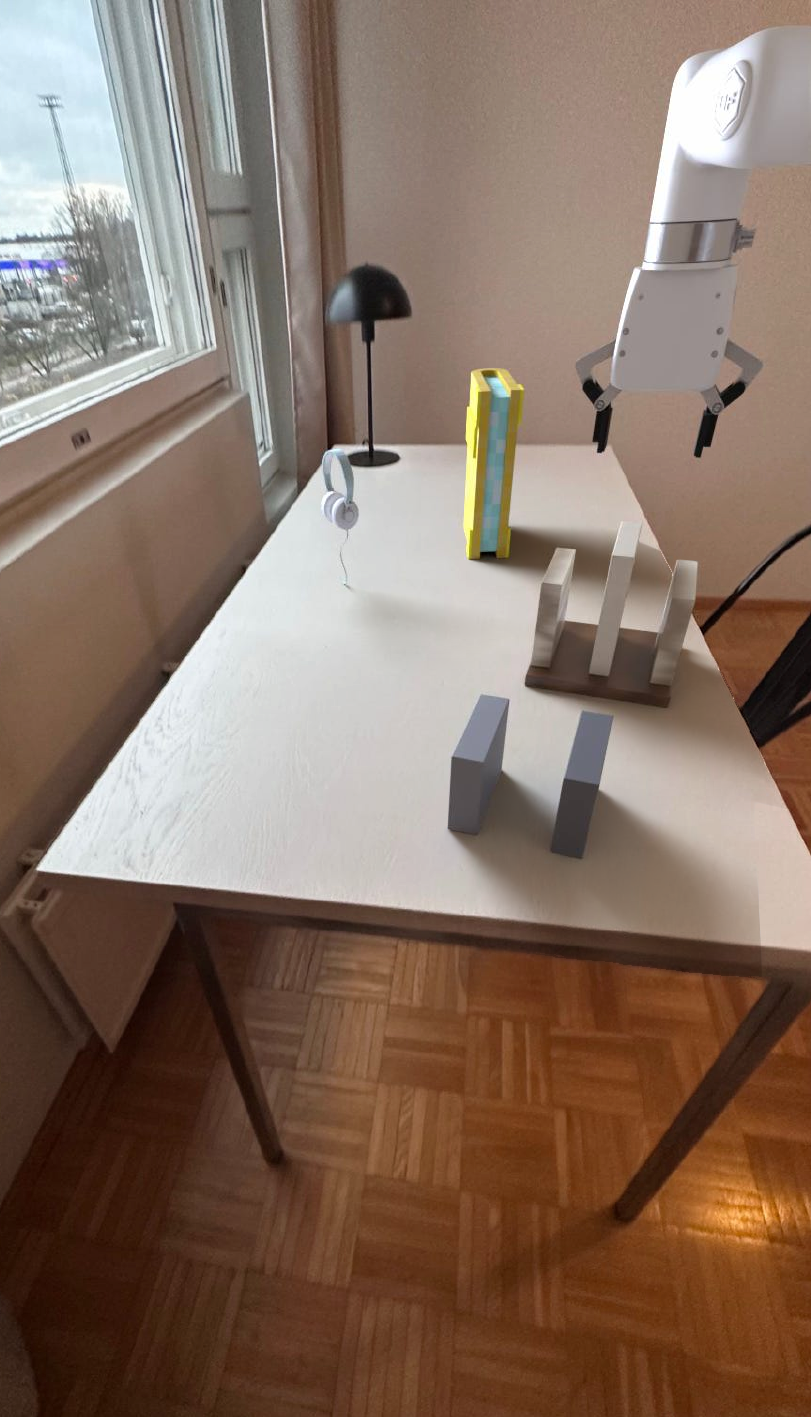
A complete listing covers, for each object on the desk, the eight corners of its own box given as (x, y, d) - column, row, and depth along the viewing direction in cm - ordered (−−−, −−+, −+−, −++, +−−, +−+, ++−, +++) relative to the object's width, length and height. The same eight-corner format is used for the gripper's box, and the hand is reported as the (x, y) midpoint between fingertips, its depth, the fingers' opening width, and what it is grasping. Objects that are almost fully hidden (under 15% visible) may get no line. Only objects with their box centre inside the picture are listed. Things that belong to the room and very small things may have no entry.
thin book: (618, 635, 95) (642, 522, 85) (608, 676, 87) (634, 557, 77) (599, 633, 95) (621, 520, 85) (588, 673, 88) (611, 555, 78)
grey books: (596, 787, 74) (613, 715, 68) (582, 859, 66) (599, 785, 60) (474, 763, 77) (480, 693, 72) (447, 828, 70) (451, 756, 64)
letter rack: (674, 644, 95) (699, 553, 87) (667, 707, 84) (695, 610, 76) (546, 628, 100) (559, 540, 92) (524, 685, 89) (536, 591, 81)
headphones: (366, 590, 112) (361, 454, 99) (344, 596, 111) (336, 459, 98) (343, 572, 118) (336, 441, 105) (322, 577, 116) (311, 446, 103)
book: (508, 557, 119) (524, 389, 103) (468, 559, 120) (477, 391, 103) (495, 521, 132) (508, 367, 116) (459, 523, 132) (467, 369, 116)
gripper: (792, 241, 64) (737, 446, 75) (595, 248, 69) (570, 439, 80) (799, 246, 59) (738, 466, 70) (585, 254, 64) (559, 457, 75)
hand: (648, 452), depth 75 cm, fingers open, 9 cm apart
